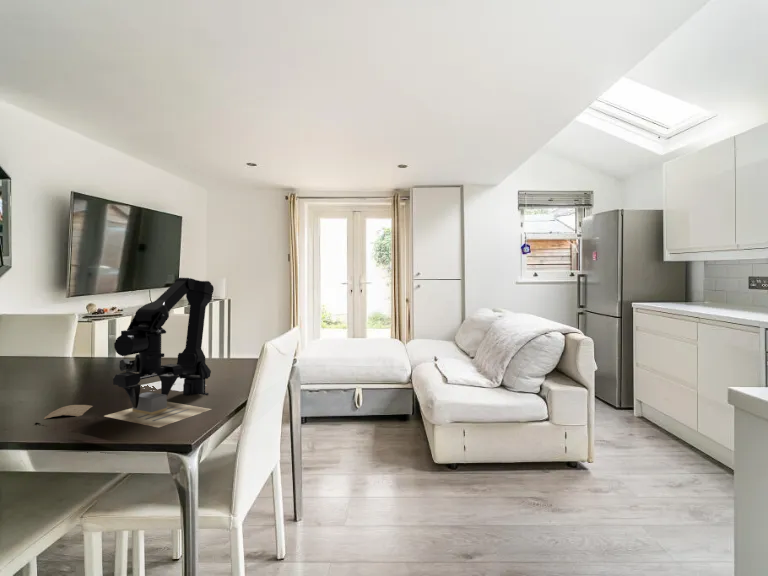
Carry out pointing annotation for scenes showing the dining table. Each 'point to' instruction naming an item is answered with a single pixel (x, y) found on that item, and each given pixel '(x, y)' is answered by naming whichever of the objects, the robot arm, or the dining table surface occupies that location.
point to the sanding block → (151, 403)
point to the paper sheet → (176, 386)
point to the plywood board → (159, 415)
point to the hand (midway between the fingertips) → (149, 403)
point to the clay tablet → (69, 411)
